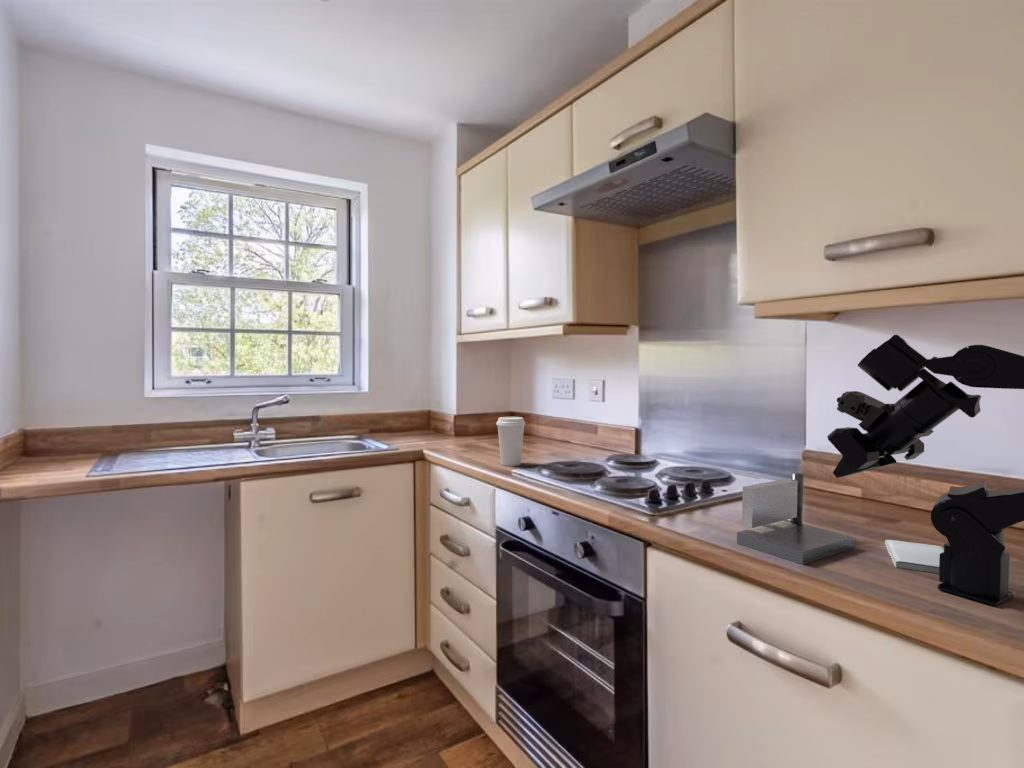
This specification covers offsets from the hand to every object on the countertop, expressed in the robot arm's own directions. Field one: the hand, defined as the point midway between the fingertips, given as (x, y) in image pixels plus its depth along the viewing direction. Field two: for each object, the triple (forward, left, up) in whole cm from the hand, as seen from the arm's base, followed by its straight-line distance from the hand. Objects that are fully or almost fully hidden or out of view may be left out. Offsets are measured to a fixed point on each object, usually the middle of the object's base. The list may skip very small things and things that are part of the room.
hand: (837, 474), depth 88 cm
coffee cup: (+100, +3, -14) cm, 101 cm away
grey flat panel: (+12, 0, -11) cm, 16 cm away
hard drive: (-8, -10, -14) cm, 19 cm away
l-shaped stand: (+7, 0, -14) cm, 15 cm away
